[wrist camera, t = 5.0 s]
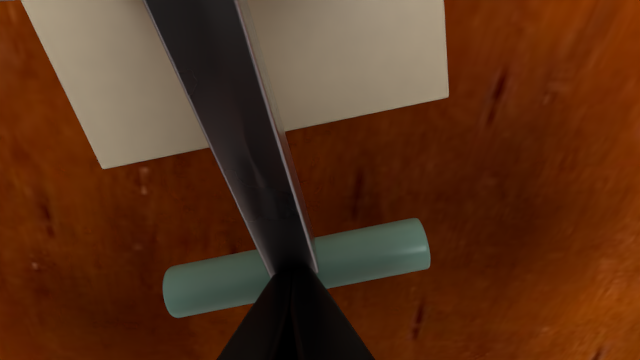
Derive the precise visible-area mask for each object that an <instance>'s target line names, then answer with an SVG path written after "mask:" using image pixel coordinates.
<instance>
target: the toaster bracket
mask: <svg viewBox="0 0 640 360" xmlns="http://www.w3.org/2000/svg"><path fill="white" fill-rule="evenodd" d="M0 1H13V0H0ZM21 2H22V4H23V6H24V8H25V10H26V12H27V14H28V16H29V18H30V20H31V22H32V24H33V27H34V29H35V31H36V33H37V35H38V37H39V39H40V41H41V43H42V45H43V47H44V49H45V51H46V53H47V56H48V58H49V60H50V62H51V64H52V66H53V68H54V70H55V72H56V74H57V76H58V78H59V80H60V82H61V85H62V87H63V89H64V91H65V93H66V95H67V97H68V99H69V101H70V103H71V105H72V107H73V109H74V111H75V114H76V116H77V118H78V120H79V122H80V124H81V126H82V128H83V130H84V132H85V134H86V136H87V138H88V140H89V143H90V145H91V147H92V149H93V151H94V153H95V155H96V157H97V159H98V161H99V163H100V165H101V167H102V169H108V168H113V167H118V166H122V165H127V164H132V163H137V162H142V161H146V160H151V159H156V158H161V157H166V156H170V155H175V154H180V153H185V152H189V151H194V150H199V149H204V148H209V144H208V142H207V140H206V138H205V136H204V134H203V132H202V129H201V127H200V125H199V123H198V121H197V119H196V116H195V114H194V112H193V110H192V108H191V106H190V103H189V101H188V99H187V97H186V95H185V93H184V90H183V88H182V86H181V84H180V82H179V80H178V77H177V75H176V73H175V71H174V69H173V67H172V64H171V62H170V60H169V58H168V56H167V54H166V52H165V49H164V47H163V45H162V43H161V41H160V39H159V36H158V34H157V32H156V30H155V28H154V26H153V23H152V21H151V19H150V17H149V15H148V13H147V10H146V8H145V6H144V4H143V2H142V0H21ZM247 2H248V5H249V9H250V12H251V16H252V19H253V23H254V26H255V30H256V33H257V37H258V40H259V44H260V47H261V51H262V54H263V58H264V61H265V65H266V68H267V72H268V75H269V79H270V82H271V86H272V89H273V93H274V96H275V100H276V103H277V107H278V110H279V114H280V117H281V121H282V124H283V128H284V131H290V130H295V129H300V128H304V127H309V126H314V125H319V124H324V123H328V122H333V121H338V120H343V119H348V118H352V117H357V116H362V115H367V114H372V113H376V112H381V111H386V110H391V109H395V108H400V107H405V106H410V105H415V104H419V103H424V102H429V101H434V100H439V99H443V98H447V97H448V96H449V87H448V68H447V50H446V31H445V13H444V0H247Z"/></svg>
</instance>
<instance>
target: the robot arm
mask: <svg viewBox="0 0 640 360" xmlns="http://www.w3.org/2000/svg"><path fill="white" fill-rule="evenodd" d="M217 360H375V359H374V357H373V356H372V354H371V353H370V351H369V350H368V348H367V347H366V346H365V344H364V343H363V341H362V340H361V338H360V337H359V335H358V334H357V333H356V331H355V330H354V328H353V327H352V325H351V324H350V323H349V321H348V320H347V318H346V317H345V315H344V314H343V312H342V311H341V310H340V308H339V307H338V305H337V304H336V302H335V301H334V299H333V298H332V297H331V295H330V294H329V292H328V291H327V289H326V288H325V287H324V285H323V284H322V282H321V281H320V279H319V278H318V276H317V275H316V274H315V272H314V271H313V269H312V268H310V267H307V268H302V269H297V270H294V271H293V273H292V272H291V271H287V272H282V273H277V274H274V275H273V276H272V277H271V279H270V280H269V282H268V283H267V285H266V286H265V288H264V289H263V291H262V292H261V294H260V295H259V297H258V298H257V300H256V301H255V303H254V304H253V306H252V307H251V309H250V310H249V312H248V313H247V315H246V316H245V318H244V319H243V321H242V322H241V324H240V325H239V327H238V328H237V330H236V331H235V333H234V334H233V336H232V337H231V339H230V340H229V342H228V343H227V345H226V346H225V348H224V349H223V351H222V352H221V354H220V355H219V357H218V358H217Z"/></svg>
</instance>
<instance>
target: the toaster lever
mask: <svg viewBox="0 0 640 360" xmlns="http://www.w3.org/2000/svg"><path fill="white" fill-rule="evenodd" d="M142 2H143V4H144V6H145V8H146V10H147V13H148V15H149V17H150V19H151V21H152V23H153V26H154V28H155V30H156V32H157V34H158V36H159V39H160V41H161V43H162V45H163V47H164V49H165V52H166V54H167V56H168V58H169V60H170V62H171V64H172V67H173V69H174V71H175V73H176V75H177V77H178V80H179V82H180V84H181V86H182V88H183V90H184V93H185V95H186V97H187V99H188V101H189V103H190V106H191V108H192V110H193V112H194V114H195V116H196V119H197V121H198V123H199V125H200V127H201V129H202V132H203V134H204V136H205V138H206V140H207V142H208V144H209V147H210V149H211V151H212V153H213V155H214V157H215V160H216V162H217V164H218V166H219V168H220V170H221V173H222V175H223V177H224V179H225V181H226V183H227V186H228V188H229V190H230V192H231V194H232V196H233V199H234V201H235V203H236V205H237V207H238V209H239V211H240V214H241V216H242V218H243V220H244V222H245V224H246V227H247V229H248V231H249V233H250V235H251V237H252V240H253V242H254V244H255V246H256V248H257V249H255V250H250V251H245V252H241V253H236V254H231V255H226V256H221V257H216V258H211V259H206V260H201V261H196V262H191V263H186V264H181V265H176V266H172V267H170V268H169V269H167V271H166V273H165V275H164V279H163V297H164V302H165V305H166V308H167V310H168V312H169V313H170V314H171V315H172V316H173V317H176V318H180V317H186V316H191V315H196V314H201V313H206V312H211V311H216V310H221V309H226V308H231V307H236V306H241V305H247V304H252V303H255V301H256V300H257V298H258V297H259V295H260V294H261V292H262V291H263V289H264V288H265V286H266V285H267V283H268V282H269V280H270V279H271V277H272V276H273V275H274V274H277V273H282V272H287V271H291V272H292V273H293V271H294V270H297V269H302V268H307V267H310V268H312V269H313V271H314V272H315V274H316V275H317V276H318V278H319V279H320V281H321V282H322V284H323V285H324V287H325V288H326V289H328V288H333V287H338V286H343V285H348V284H353V283H358V282H363V281H369V280H374V279H379V278H384V277H389V276H394V275H399V274H404V273H409V272H414V271H419V270H424V269H427V268H429V267H430V250H429V245H428V241H427V237H426V234H425V231H424V228H423V226H422V224H421V222H420V221H419V219H418V218H410V219H405V220H400V221H395V222H390V223H385V224H380V225H375V226H370V227H365V228H360V229H355V230H350V231H345V232H340V233H335V234H330V235H325V236H320V237H315V236H314V233H313V229H312V226H311V222H310V219H309V215H308V212H307V208H306V205H305V201H304V198H303V194H302V191H301V187H300V184H299V180H298V177H297V173H296V170H295V166H294V163H293V159H292V156H291V152H290V149H289V145H288V142H287V138H286V135H285V131H284V128H283V124H282V121H281V117H280V114H279V110H278V107H277V103H276V100H275V96H274V93H273V89H272V86H271V82H270V79H269V75H268V72H267V68H266V65H265V61H264V58H263V54H262V51H261V47H260V44H259V40H258V37H257V33H256V30H255V26H254V23H253V19H252V16H251V12H250V9H249V5H248V2H247V0H142Z"/></svg>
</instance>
